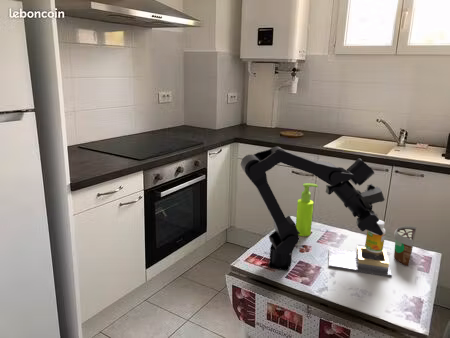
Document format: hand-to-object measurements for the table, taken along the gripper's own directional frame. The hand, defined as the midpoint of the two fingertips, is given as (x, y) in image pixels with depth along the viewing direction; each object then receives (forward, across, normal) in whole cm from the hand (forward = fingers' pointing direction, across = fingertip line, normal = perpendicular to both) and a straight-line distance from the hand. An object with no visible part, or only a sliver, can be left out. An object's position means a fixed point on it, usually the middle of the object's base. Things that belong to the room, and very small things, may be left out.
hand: (380, 230), depth 121 cm
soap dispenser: (-7, +19, +25) cm, 32 cm away
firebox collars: (+5, 0, +12) cm, 14 cm away
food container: (+16, +7, +2) cm, 17 cm away
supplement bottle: (+4, 0, +6) cm, 7 cm away
